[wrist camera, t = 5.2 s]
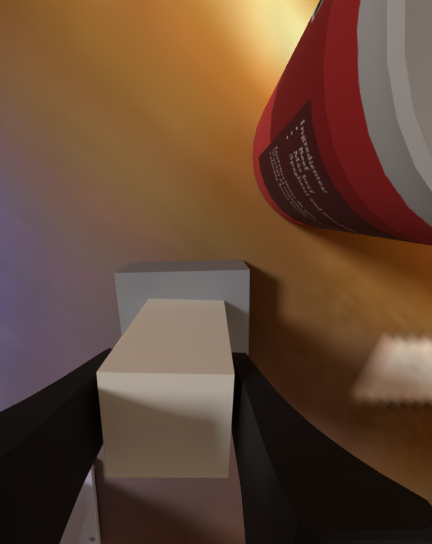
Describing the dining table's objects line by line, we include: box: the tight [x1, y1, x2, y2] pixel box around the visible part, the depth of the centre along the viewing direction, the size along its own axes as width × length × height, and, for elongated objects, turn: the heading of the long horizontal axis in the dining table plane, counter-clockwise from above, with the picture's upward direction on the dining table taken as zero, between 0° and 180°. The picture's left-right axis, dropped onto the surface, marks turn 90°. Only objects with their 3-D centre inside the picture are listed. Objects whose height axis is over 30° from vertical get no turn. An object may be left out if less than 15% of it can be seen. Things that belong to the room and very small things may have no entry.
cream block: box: [96, 299, 235, 478], centre depth 10 cm, size 4×4×6 cm
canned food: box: [253, 0, 432, 245], centre depth 8 cm, size 8×8×11 cm
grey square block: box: [114, 260, 250, 356], centre depth 15 cm, size 7×7×3 cm
